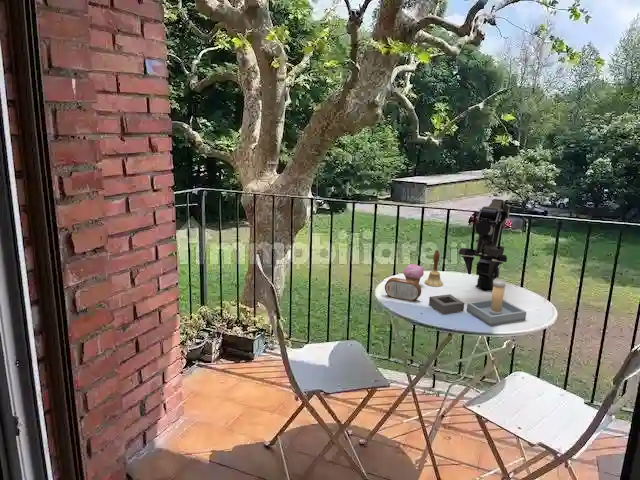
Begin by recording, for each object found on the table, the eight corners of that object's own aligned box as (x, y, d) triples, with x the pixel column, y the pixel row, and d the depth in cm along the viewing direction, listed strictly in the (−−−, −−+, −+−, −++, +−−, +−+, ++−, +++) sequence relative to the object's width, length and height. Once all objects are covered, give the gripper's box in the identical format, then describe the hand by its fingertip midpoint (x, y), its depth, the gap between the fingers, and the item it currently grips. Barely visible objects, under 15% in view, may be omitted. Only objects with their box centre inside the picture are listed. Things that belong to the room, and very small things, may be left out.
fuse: (491, 310, 181) (495, 278, 178) (503, 313, 178) (507, 281, 175) (487, 313, 178) (491, 281, 174) (499, 316, 175) (503, 284, 172)
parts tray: (499, 306, 187) (500, 298, 186) (525, 320, 175) (526, 311, 174) (466, 311, 182) (467, 302, 181) (490, 326, 169) (491, 317, 168)
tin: (420, 300, 192) (422, 281, 190) (419, 303, 189) (420, 283, 187) (385, 294, 198) (386, 275, 196) (383, 296, 195) (384, 278, 193)
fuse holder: (449, 302, 191) (450, 294, 190) (463, 311, 182) (464, 303, 181) (428, 304, 188) (429, 296, 187) (442, 314, 179) (443, 305, 178)
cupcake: (405, 281, 214) (407, 260, 212) (424, 284, 211) (426, 263, 208) (400, 287, 206) (401, 266, 204) (419, 290, 203) (421, 269, 200)
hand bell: (446, 283, 213) (449, 249, 209) (438, 288, 206) (441, 253, 202) (429, 279, 218) (432, 246, 214) (421, 284, 211) (423, 250, 207)
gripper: (475, 234, 179) (468, 274, 179) (518, 242, 183) (511, 281, 182) (461, 234, 190) (454, 271, 190) (501, 241, 194) (495, 278, 193)
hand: (479, 276), depth 188 cm, fingers open, 9 cm apart
